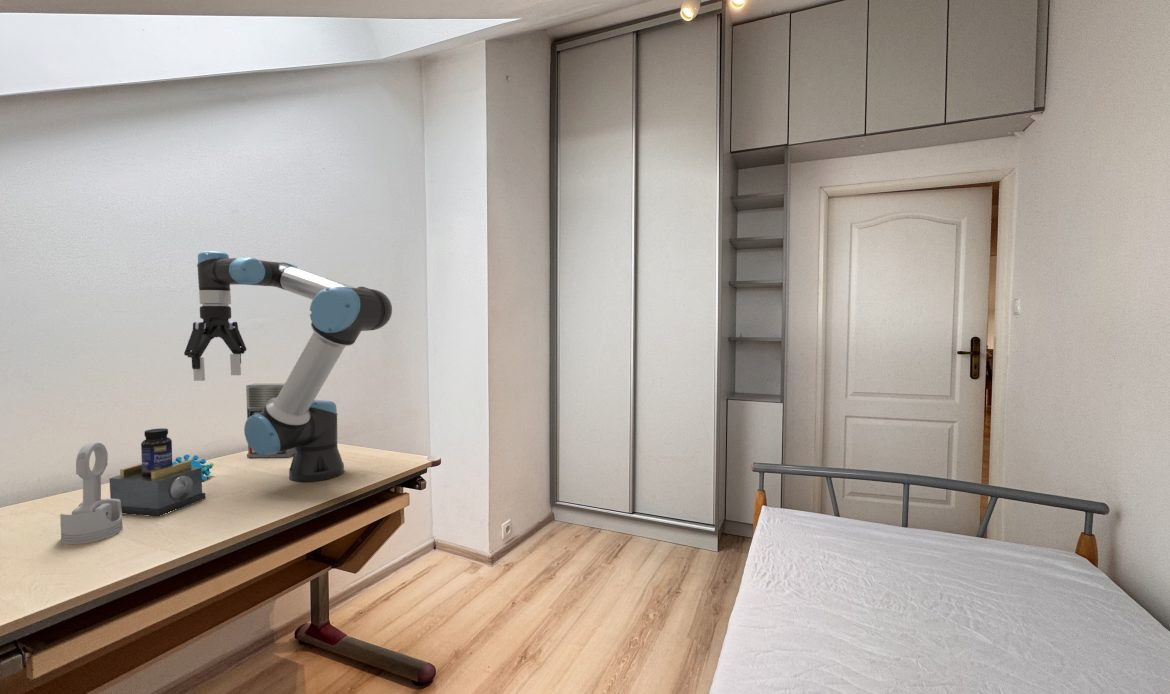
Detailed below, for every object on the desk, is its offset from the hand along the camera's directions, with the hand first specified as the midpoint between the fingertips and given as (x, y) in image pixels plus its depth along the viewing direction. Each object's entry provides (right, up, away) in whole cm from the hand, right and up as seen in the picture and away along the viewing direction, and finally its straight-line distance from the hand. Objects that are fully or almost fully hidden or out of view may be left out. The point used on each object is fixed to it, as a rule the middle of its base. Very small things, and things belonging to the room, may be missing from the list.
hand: (218, 377), depth 154 cm
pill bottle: (-2, -23, -20) cm, 31 cm away
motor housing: (-2, -32, -19) cm, 37 cm away
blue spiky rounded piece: (-8, -31, 0) cm, 32 cm away
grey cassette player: (-1, -29, +28) cm, 40 cm away
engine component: (-2, -33, -37) cm, 49 cm away
